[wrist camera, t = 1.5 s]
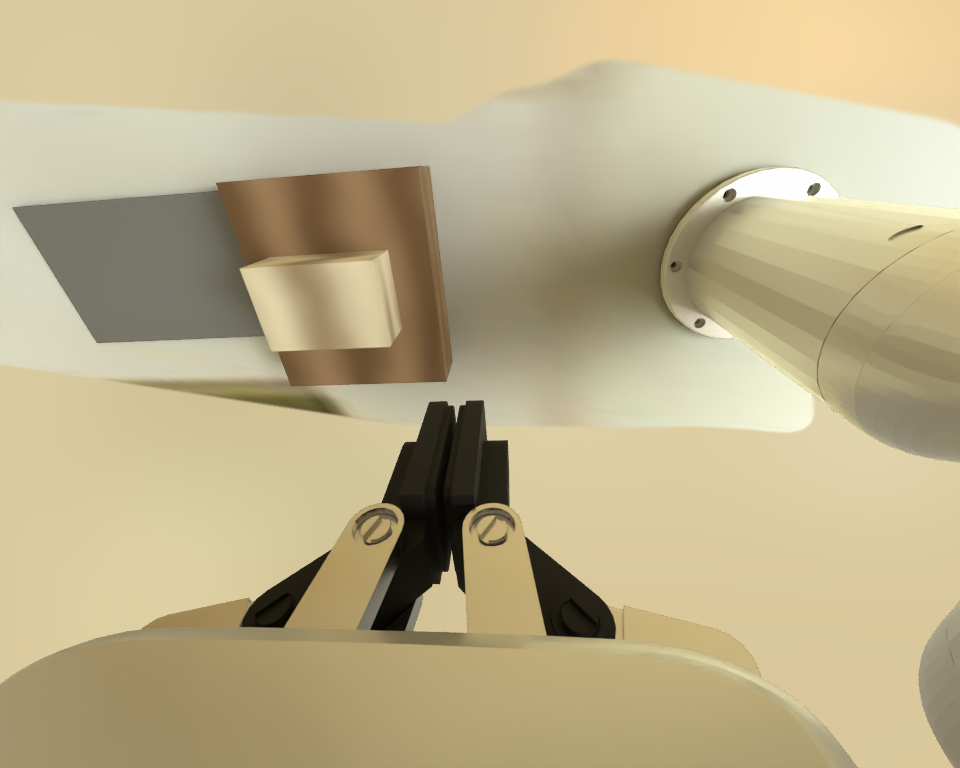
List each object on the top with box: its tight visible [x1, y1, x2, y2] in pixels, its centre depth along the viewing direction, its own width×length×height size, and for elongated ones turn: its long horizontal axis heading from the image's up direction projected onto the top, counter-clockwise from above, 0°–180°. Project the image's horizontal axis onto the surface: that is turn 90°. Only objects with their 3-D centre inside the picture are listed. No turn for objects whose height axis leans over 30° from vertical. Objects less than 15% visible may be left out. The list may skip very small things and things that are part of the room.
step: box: [216, 166, 452, 386], centre depth 31 cm, size 14×16×4 cm
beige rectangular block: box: [240, 250, 402, 352], centre depth 27 cm, size 9×6×4 cm, turn 94°
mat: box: [13, 191, 265, 343], centre depth 33 cm, size 20×12×1 cm, turn 94°
